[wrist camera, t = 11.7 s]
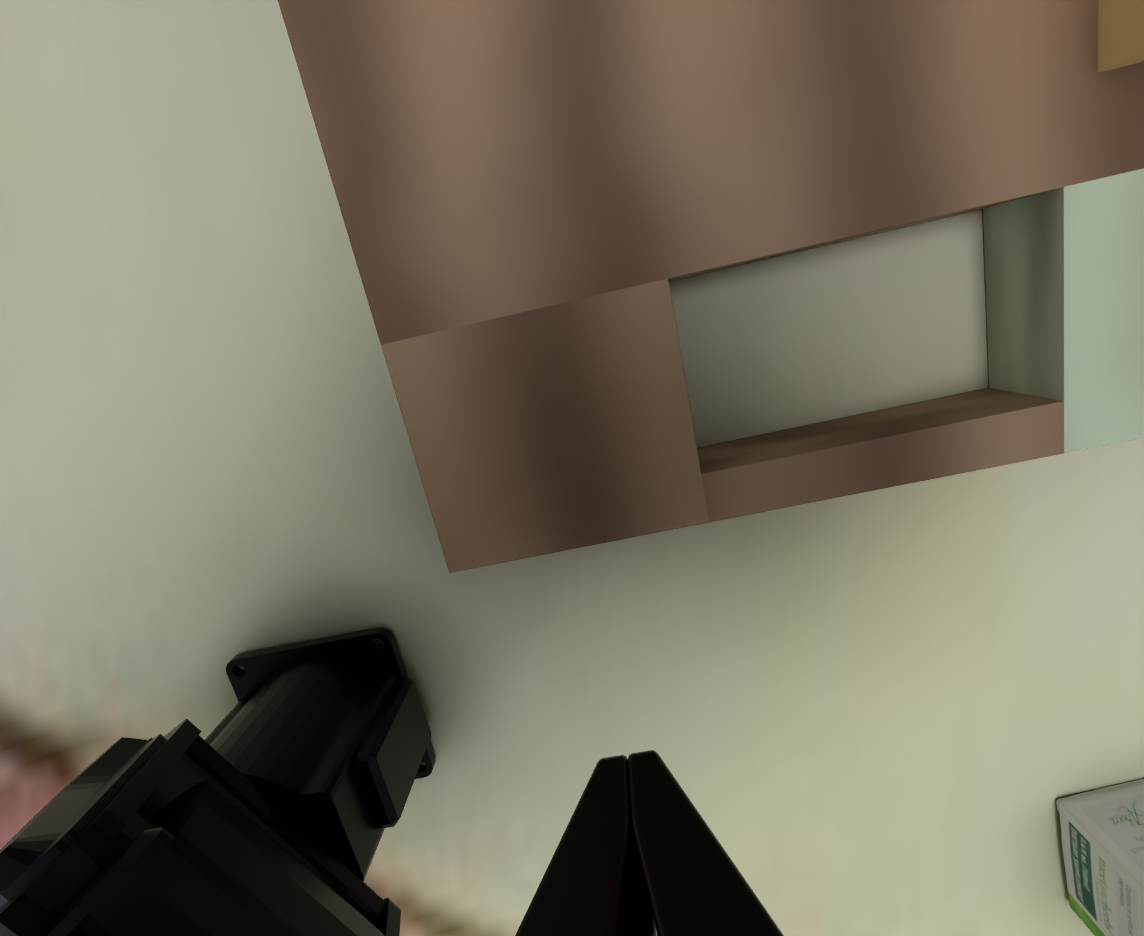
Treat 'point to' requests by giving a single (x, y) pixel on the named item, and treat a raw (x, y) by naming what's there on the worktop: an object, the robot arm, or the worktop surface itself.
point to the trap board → (714, 235)
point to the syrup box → (1105, 857)
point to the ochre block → (1120, 33)
